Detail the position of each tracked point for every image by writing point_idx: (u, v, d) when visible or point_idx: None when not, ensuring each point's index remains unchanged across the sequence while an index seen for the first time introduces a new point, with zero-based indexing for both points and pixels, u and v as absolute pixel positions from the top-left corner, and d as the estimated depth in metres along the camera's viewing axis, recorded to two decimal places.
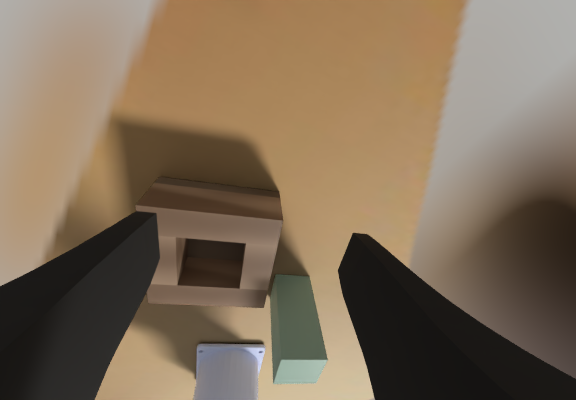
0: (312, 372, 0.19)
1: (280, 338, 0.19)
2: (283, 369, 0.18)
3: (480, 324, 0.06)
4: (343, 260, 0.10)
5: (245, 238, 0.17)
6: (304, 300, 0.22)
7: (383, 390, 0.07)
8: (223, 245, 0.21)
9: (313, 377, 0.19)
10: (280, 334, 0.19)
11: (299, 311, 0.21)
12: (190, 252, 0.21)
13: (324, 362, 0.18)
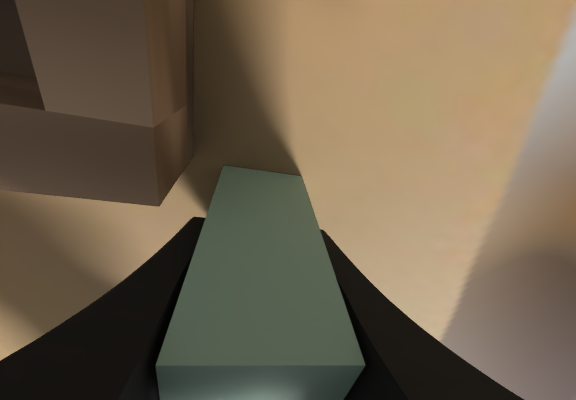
0: None
1: (186, 285, 0.05)
2: None
3: (411, 322, 0.05)
4: None
5: None
6: (287, 207, 0.09)
7: None
8: None
9: None
10: (190, 273, 0.05)
11: (269, 225, 0.07)
12: None
13: (351, 375, 0.05)
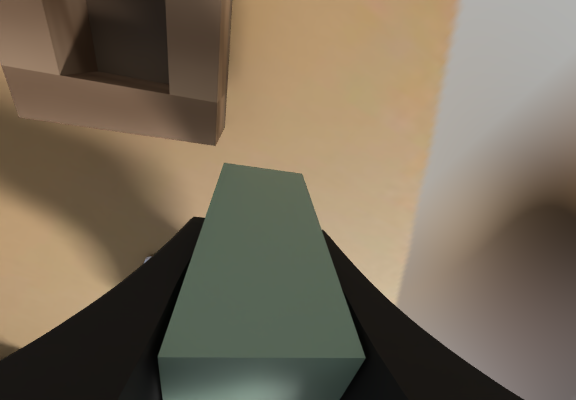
0: None
1: (187, 279, 0.05)
2: (186, 396, 0.05)
3: (411, 322, 0.05)
4: None
5: None
6: (287, 204, 0.09)
7: None
8: (152, 49, 0.13)
9: None
10: (191, 268, 0.05)
11: (269, 221, 0.08)
12: (100, 60, 0.13)
13: (351, 368, 0.05)
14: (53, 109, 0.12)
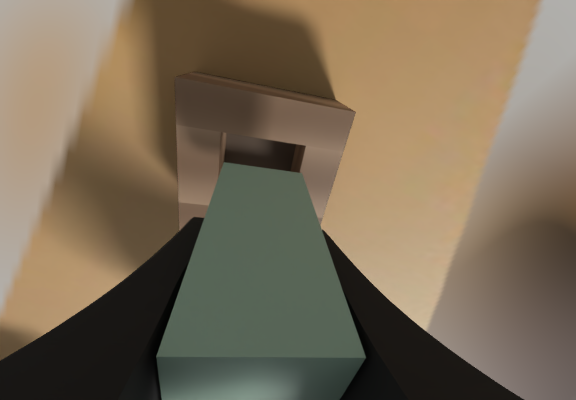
0: None
1: (186, 279, 0.05)
2: (185, 396, 0.04)
3: (411, 322, 0.05)
4: None
5: (306, 138, 0.13)
6: (287, 203, 0.09)
7: None
8: None
9: None
10: (191, 267, 0.05)
11: (269, 221, 0.07)
12: None
13: (351, 368, 0.05)
14: None
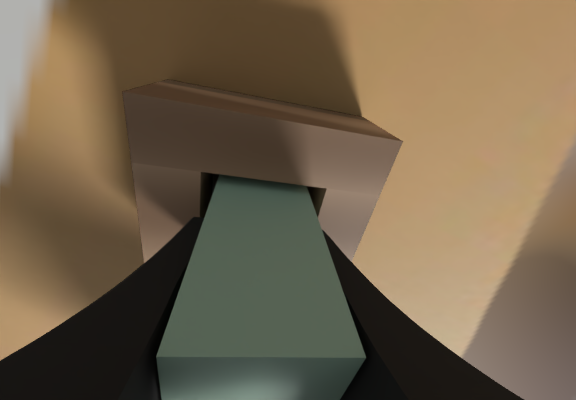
0: None
1: (186, 279, 0.05)
2: (185, 396, 0.04)
3: (411, 322, 0.05)
4: None
5: (327, 178, 0.09)
6: (287, 203, 0.09)
7: None
8: None
9: None
10: (191, 267, 0.05)
11: (269, 221, 0.07)
12: None
13: (352, 368, 0.05)
14: None
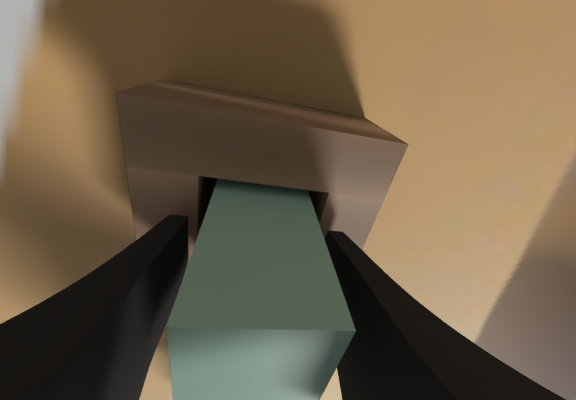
0: (301, 376, 0.06)
1: (191, 262, 0.06)
2: (191, 367, 0.05)
3: (442, 323, 0.05)
4: None
5: (330, 182, 0.09)
6: (286, 196, 0.09)
7: (349, 391, 0.07)
8: None
9: (303, 392, 0.06)
10: (195, 252, 0.06)
11: (268, 212, 0.08)
12: None
13: (343, 341, 0.05)
14: None
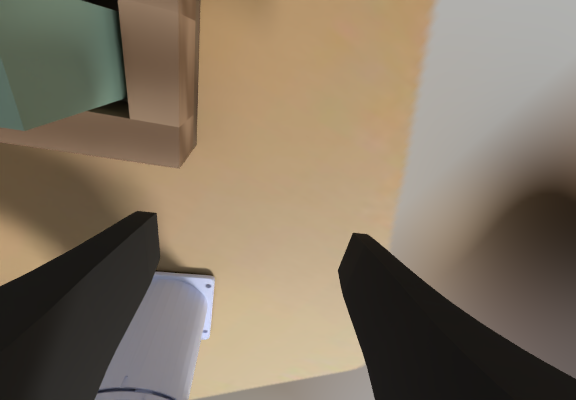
0: None
1: None
2: None
3: (480, 324, 0.06)
4: (343, 260, 0.10)
5: None
6: None
7: (383, 390, 0.07)
8: None
9: None
10: None
11: None
12: None
13: None
14: (10, 131, 0.11)
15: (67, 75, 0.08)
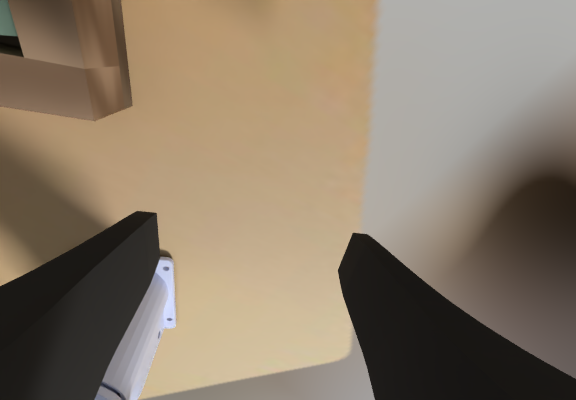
0: None
1: None
2: None
3: (480, 324, 0.06)
4: (343, 260, 0.10)
5: None
6: None
7: (383, 390, 0.07)
8: None
9: None
10: None
11: None
12: None
13: None
14: None
15: None
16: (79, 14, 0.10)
